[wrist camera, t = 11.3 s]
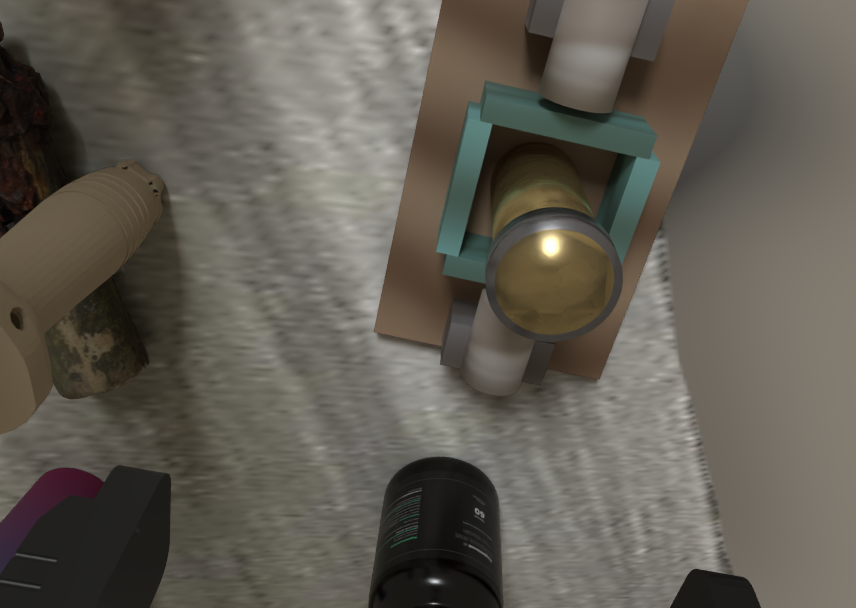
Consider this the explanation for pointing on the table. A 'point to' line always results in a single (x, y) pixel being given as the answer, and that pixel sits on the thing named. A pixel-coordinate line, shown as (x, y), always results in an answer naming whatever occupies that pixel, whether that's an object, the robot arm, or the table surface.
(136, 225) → the handle
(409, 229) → the shaft bench
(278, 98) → the table surface
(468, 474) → the supplement bottle
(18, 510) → the cup
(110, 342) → the dark brown elongated piece
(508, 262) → the cylinder
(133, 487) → the robot arm
